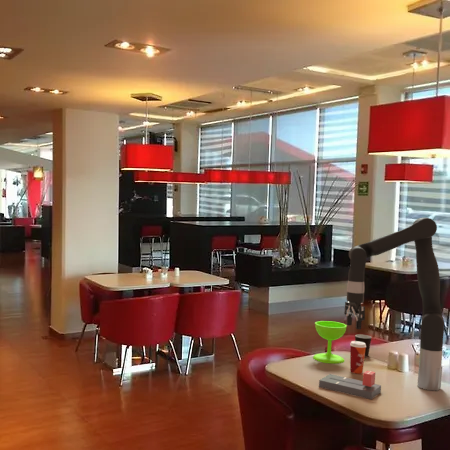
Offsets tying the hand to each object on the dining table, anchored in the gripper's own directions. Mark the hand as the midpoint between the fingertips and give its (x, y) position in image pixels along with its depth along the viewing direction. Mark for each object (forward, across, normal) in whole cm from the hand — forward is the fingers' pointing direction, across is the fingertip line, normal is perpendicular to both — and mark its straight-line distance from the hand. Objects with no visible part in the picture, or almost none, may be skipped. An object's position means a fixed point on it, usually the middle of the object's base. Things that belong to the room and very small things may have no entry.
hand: (353, 327), depth 250 cm
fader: (+21, -18, +2) cm, 28 cm away
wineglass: (+24, +34, -6) cm, 42 cm away
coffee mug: (+24, +40, -27) cm, 54 cm away
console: (+24, -12, +7) cm, 28 cm away
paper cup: (+24, +12, -9) cm, 28 cm away
